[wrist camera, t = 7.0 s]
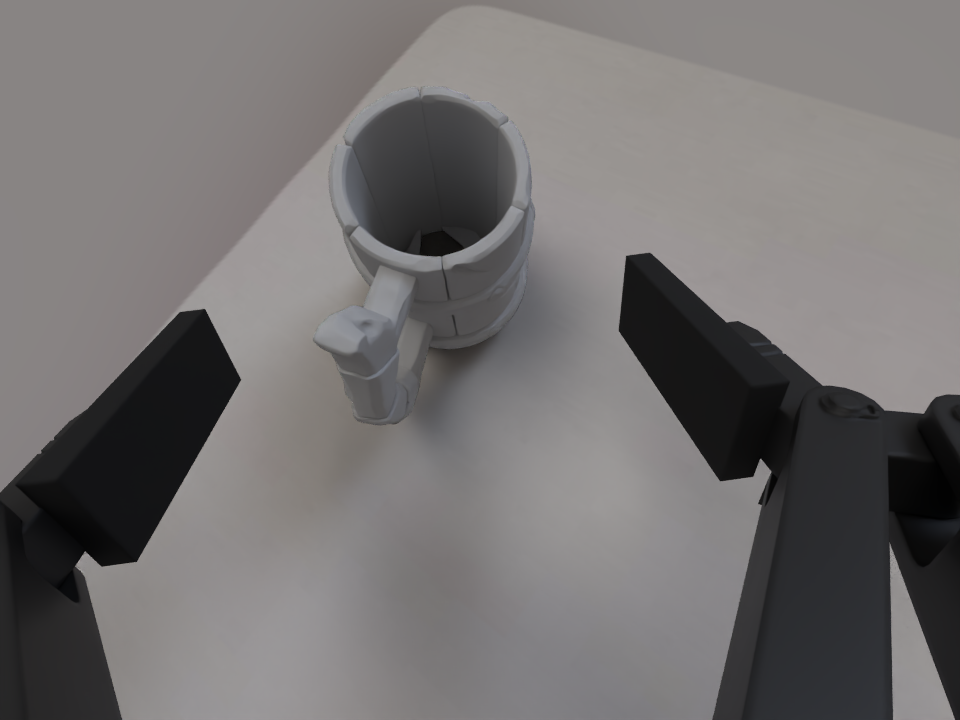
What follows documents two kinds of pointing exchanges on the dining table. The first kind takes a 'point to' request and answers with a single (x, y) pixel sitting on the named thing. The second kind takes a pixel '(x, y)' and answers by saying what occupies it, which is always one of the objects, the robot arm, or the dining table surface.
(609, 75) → the dining table surface
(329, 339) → the mug
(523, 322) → the dining table surface
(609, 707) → the dining table surface
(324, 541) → the dining table surface
